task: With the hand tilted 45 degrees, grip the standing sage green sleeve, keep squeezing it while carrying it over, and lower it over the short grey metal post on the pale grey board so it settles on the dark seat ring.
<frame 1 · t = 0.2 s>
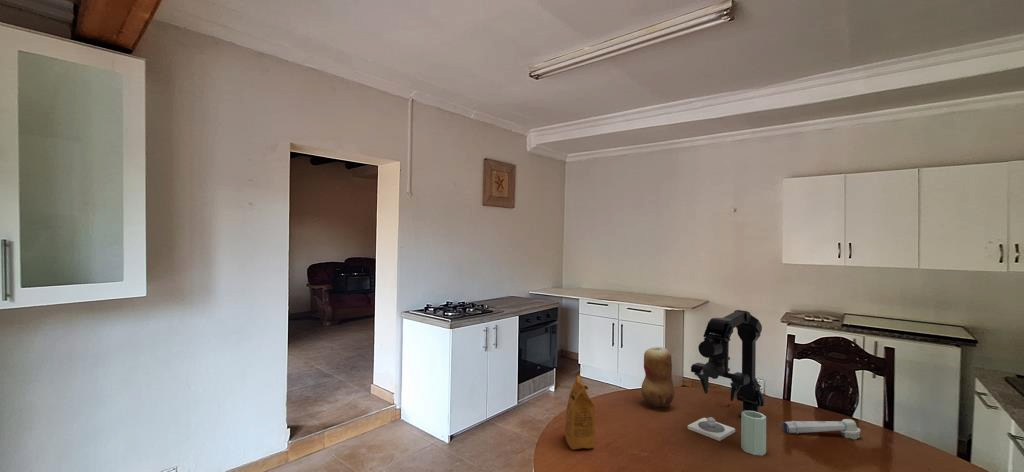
hand: (718, 397, 149), 15 cm above the table, tool pointing down, fingers open, 9 cm apart
coffee package: (579, 443, 144), on the table
sleeve: (753, 450, 140), on the table
butternut squash: (658, 406, 177), on the table
toothbrush head: (821, 435, 152), on the table
post board: (711, 430, 155), on the table
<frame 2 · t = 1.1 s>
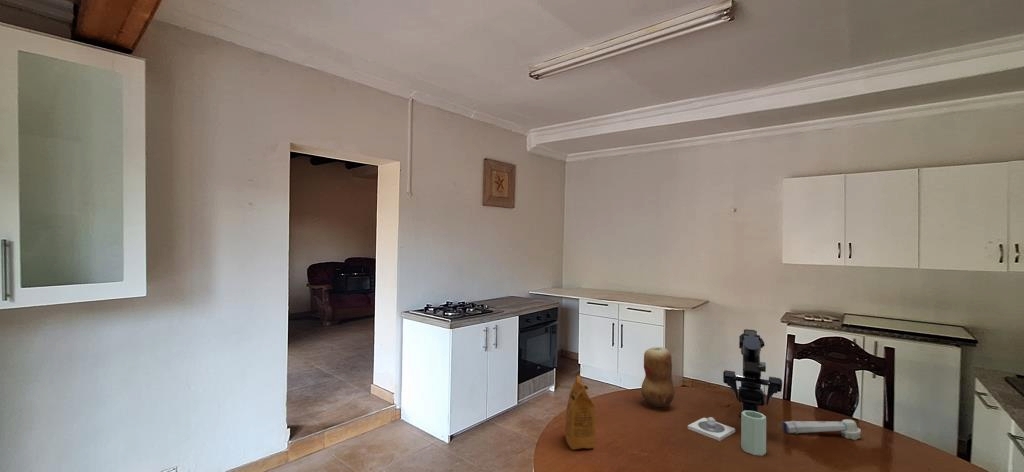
hand: (752, 402, 148), 13 cm above the table, tool tilted 45°, fingers open, 9 cm apart
nothing on the table moved.
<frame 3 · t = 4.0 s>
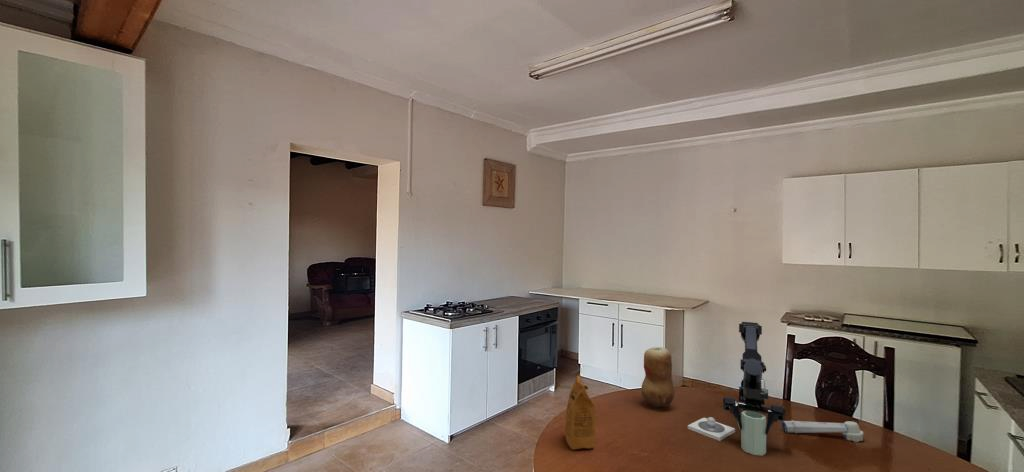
hand: (753, 432, 139), 7 cm above the table, tool tilted 45°, fingers closed on sleeve, 7 cm apart
sleeve: (753, 450, 140), on the table, touching gripper
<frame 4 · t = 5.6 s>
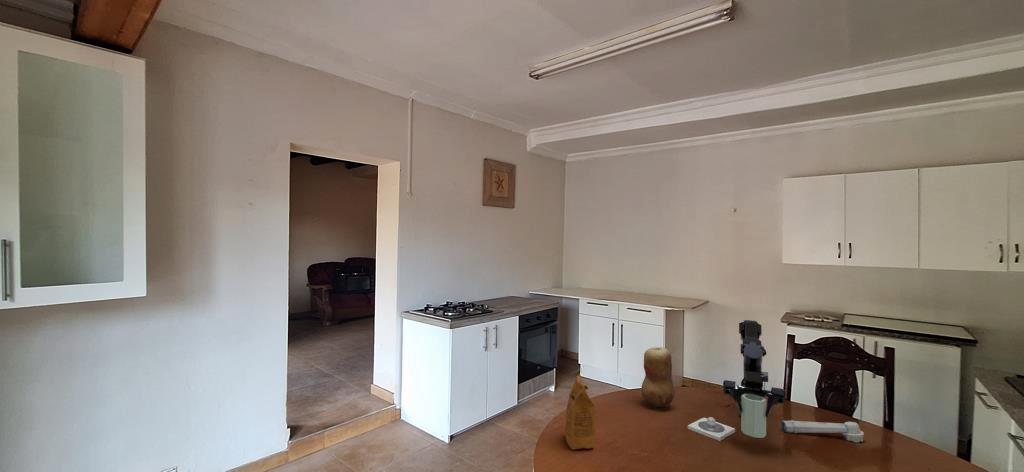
hand: (753, 415, 139), 12 cm above the table, tool tilted 45°, fingers closed on sleeve, 7 cm apart
sleeve: (753, 432, 140), point 6 cm above the table, touching gripper
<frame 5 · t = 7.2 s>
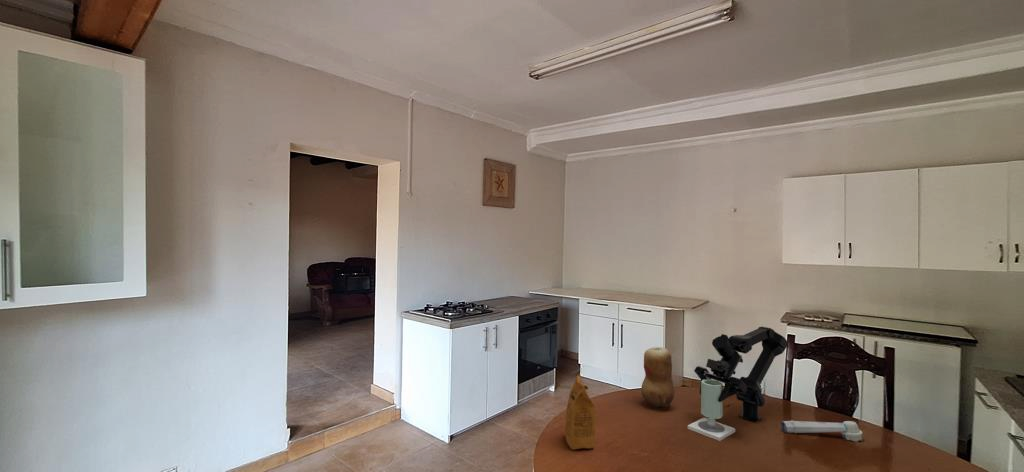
hand: (709, 397, 154), 12 cm above the table, tool tilted 45°, fingers closed on sleeve, 7 cm apart
sleeve: (711, 414, 155), point 6 cm above the table, touching gripper
everything else where it was.
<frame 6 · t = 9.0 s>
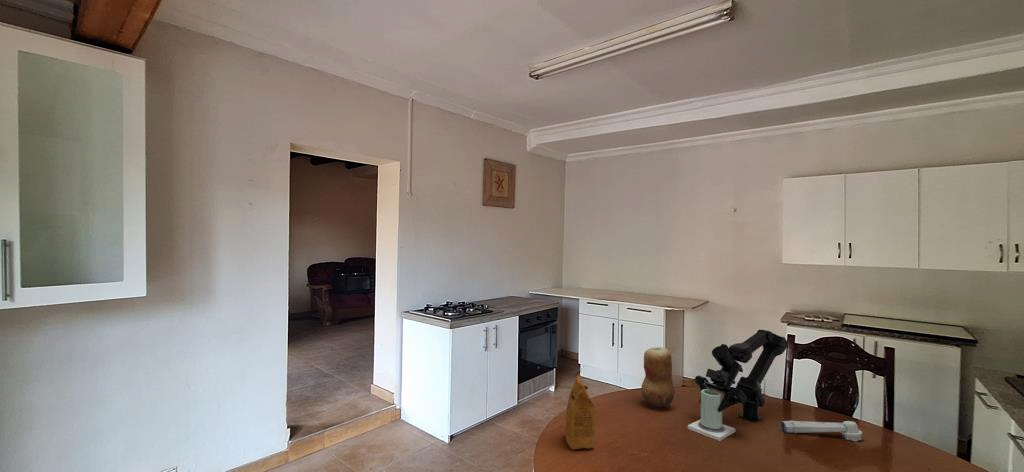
hand: (709, 407, 154), 9 cm above the table, tool tilted 45°, fingers closed on sleeve, 7 cm apart
sleeve: (711, 424, 155), point 2 cm above the table, touching gripper
everything else where it was.
when the fingers open (9 cm above the table, at t = 9.0 s): sleeve stays where it is, resting on post board.
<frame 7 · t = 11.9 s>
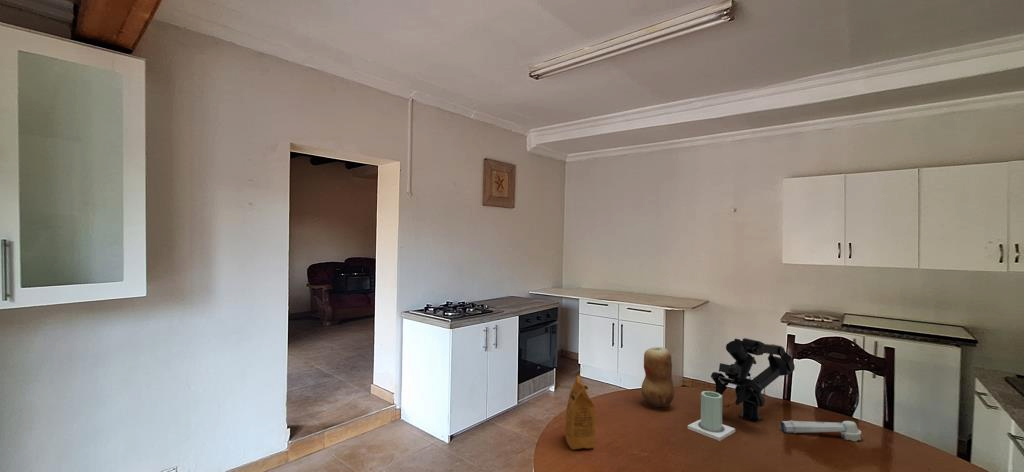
hand: (726, 401, 158), 9 cm above the table, tool tilted 40°, fingers open, 9 cm apart
sleeve: (711, 426, 155), point 1 cm above the table, touching post board
everything else where it was.
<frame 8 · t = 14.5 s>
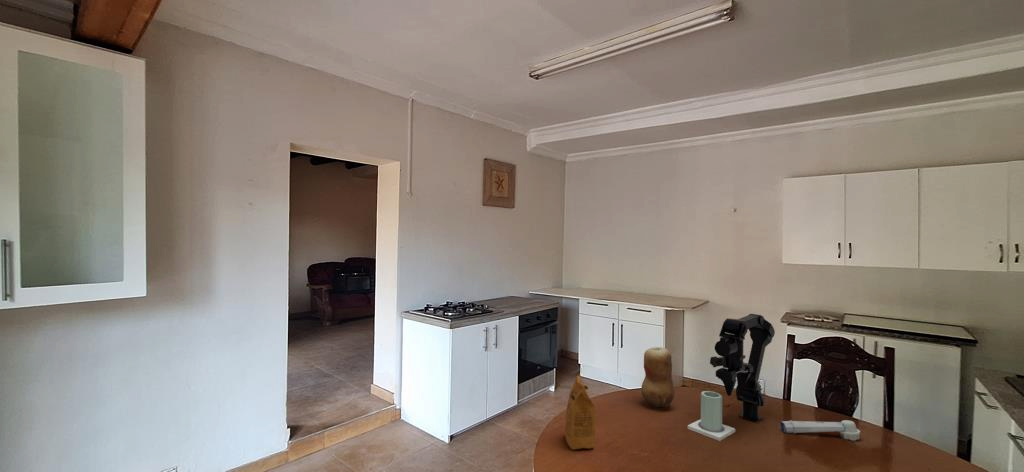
hand: (734, 392, 158), 13 cm above the table, tool pointing down, fingers open, 9 cm apart
nothing on the table moved.
at the end: sleeve 0.0 cm from the post board (horizontally); sleeve point 1.4 cm above the table; sleeve tilted 0° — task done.
